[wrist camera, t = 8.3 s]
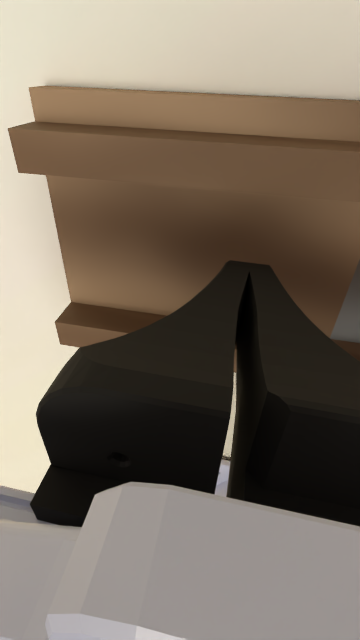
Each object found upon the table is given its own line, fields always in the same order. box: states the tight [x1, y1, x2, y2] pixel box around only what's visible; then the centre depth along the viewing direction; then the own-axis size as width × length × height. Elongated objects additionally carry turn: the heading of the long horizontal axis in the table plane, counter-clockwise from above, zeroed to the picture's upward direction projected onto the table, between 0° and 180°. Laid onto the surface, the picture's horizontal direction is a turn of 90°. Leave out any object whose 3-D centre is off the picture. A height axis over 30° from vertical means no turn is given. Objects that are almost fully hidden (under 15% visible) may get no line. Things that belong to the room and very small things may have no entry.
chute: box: [8, 86, 360, 373], centre depth 12 cm, size 10×22×2 cm, turn 89°
